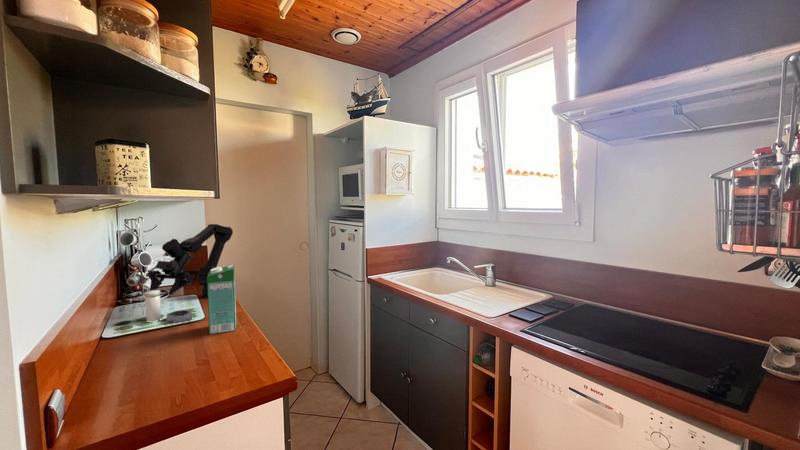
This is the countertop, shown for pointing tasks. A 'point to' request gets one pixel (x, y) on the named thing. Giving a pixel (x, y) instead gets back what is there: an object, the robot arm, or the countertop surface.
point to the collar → (179, 316)
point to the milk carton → (221, 299)
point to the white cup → (152, 305)
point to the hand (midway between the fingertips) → (159, 293)
